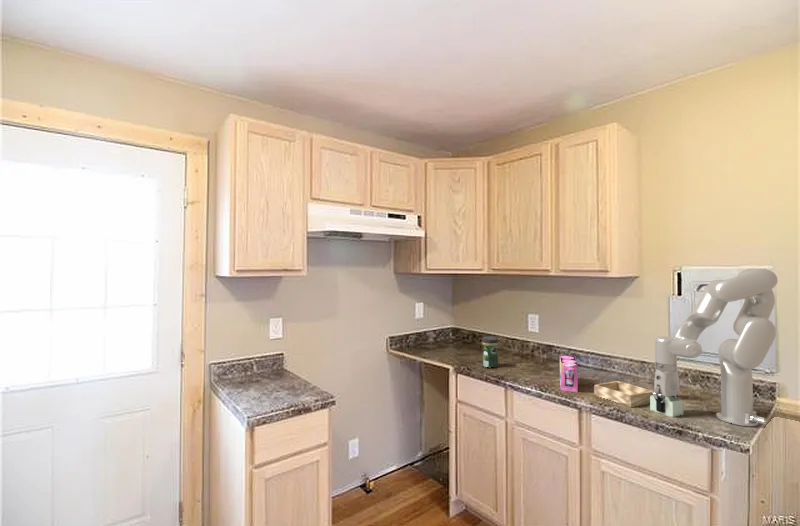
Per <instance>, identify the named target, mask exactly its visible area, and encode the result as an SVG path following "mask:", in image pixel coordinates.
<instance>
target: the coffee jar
mask: <svg viewBox="0 0 800 526" xmlns="http://www.w3.org/2000/svg"><path fill="white" fill-rule="evenodd" d="M481 345H482V357H481V359H482V360H481V363H482V364H481V367H483V366H484V367H483V368H485V367H495V368H499V356H498V355H499V354H498V346H499V339H498V337H497V336H492V335H491V336H490V335H489V336H483V337H482V338H481Z"/></svg>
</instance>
